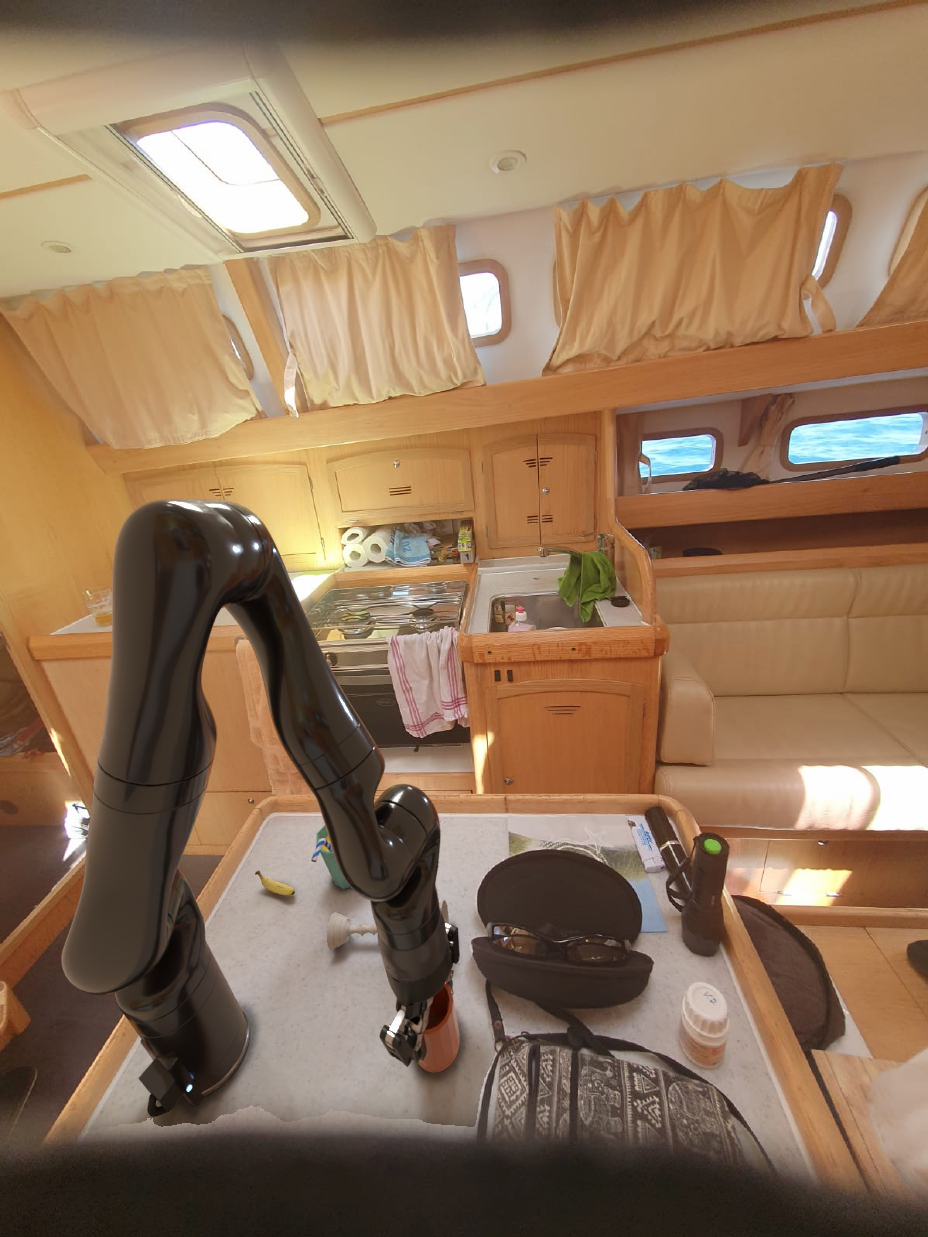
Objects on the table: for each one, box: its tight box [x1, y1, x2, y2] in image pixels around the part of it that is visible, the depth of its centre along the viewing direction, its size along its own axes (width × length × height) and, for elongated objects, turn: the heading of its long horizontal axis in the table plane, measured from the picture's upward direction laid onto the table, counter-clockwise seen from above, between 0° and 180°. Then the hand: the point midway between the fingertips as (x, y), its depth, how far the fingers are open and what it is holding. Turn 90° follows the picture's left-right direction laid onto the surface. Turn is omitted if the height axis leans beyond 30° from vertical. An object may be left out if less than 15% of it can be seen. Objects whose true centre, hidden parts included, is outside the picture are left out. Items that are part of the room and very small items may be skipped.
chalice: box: [326, 899, 450, 951], centre depth 70 cm, size 7×7×18 cm
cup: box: [311, 825, 351, 890], centre depth 79 cm, size 14×8×15 cm, turn 173°
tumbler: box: [409, 982, 461, 1073], centre depth 58 cm, size 6×6×9 cm
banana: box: [254, 870, 296, 897], centre depth 80 cm, size 8×2×4 cm, turn 69°
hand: (432, 1022), depth 57 cm, fingers closed on tumbler, 6 cm apart
